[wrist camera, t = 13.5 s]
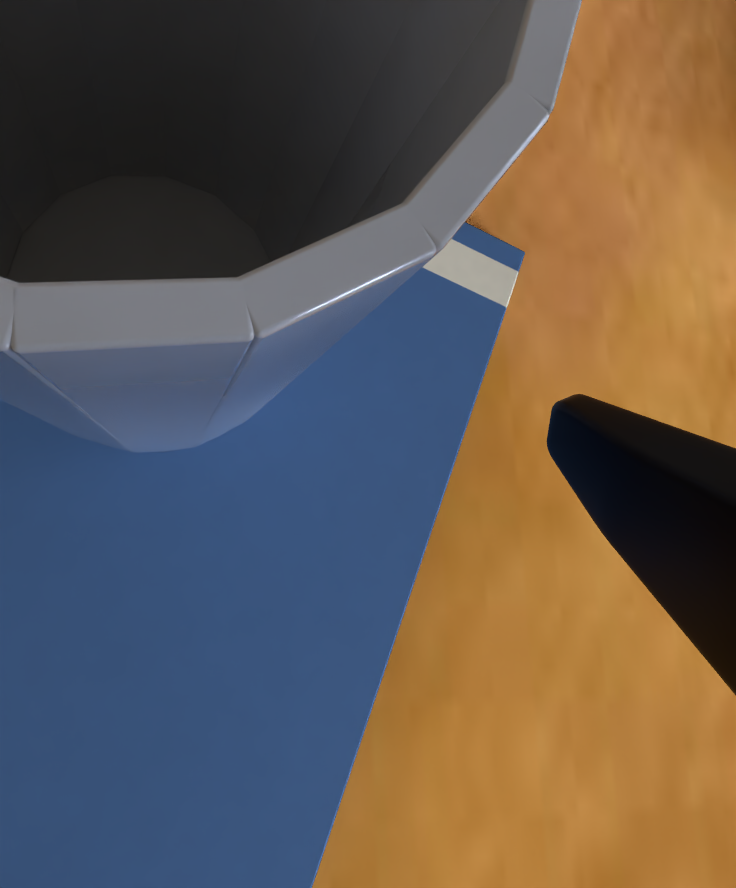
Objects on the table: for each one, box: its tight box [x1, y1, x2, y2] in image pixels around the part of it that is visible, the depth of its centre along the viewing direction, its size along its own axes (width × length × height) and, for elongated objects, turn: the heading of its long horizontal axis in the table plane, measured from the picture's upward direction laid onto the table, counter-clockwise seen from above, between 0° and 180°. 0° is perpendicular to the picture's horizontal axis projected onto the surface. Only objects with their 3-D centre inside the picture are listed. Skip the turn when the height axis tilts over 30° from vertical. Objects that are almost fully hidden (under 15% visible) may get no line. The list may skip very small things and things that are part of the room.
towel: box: [0, 222, 525, 888], centre depth 16 cm, size 14×21×1 cm, turn 160°
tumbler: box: [0, 0, 582, 453], centre depth 10 cm, size 7×7×13 cm
